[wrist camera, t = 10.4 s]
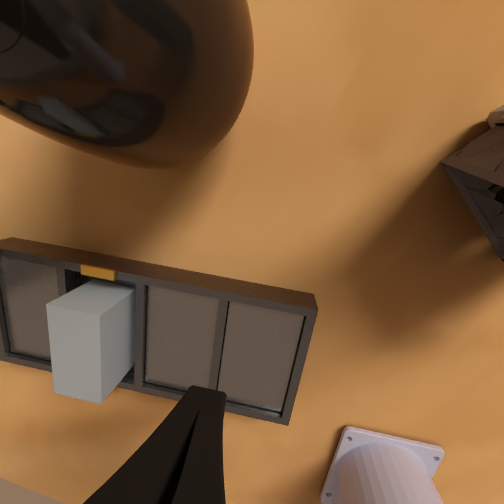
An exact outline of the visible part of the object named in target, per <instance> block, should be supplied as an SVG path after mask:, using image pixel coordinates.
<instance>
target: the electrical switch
mask: <svg viewBox="0 0 504 504" xmlns="http://www.w3.org/2000/svg"><path fill="white" fill-rule="evenodd" d="M486 120H487V122H488V124H489V126H490V128H491V130H489V131H487V132H485V133H484V134H482V135H480V136H479V137H477V138H475V139H473V140H472V141H471V142H470V143H468V144H467V145H466V146H465V147H463V148H462V149H460V150H459V151H457V152H455V153H454V154H452V155H450V156H449V157H447V158H445V159H444V160H442V161H440V162H442V164H443V166H444V168H445V169H446V171H447V172H448V174H449V176H450V177H451V179H452V180H453V182H454V184H455V185H456V187H457V188H458V190H459V192H460V193H461V195H462V197H463V198H464V200H465V201H466V203H467V205H468V206H469V208H470V209H471V211H472V213H473V214H474V216H475V218H476V219H477V221H478V222H479V224H480V226H481V227H482V229H483V230H484V232H485V234H486V235H487V237H488V239H489V240H490V242H491V243H492V245H493V247H494V248H495V250H496V251H497V253H498V255H499V256H500V257H504V213H502V214H500V215H499V213H500V212H504V202H502V203H499V202H498V201H496V198H495V196H496V193H497V192H498V191H500V190H502V189H503V188H504V105H503V106H501V107H499V108H497V109H496V110H494V111H492V112H491V113H489V115H488V117H487V119H486ZM494 184H497V185H496V186H495V187H493V188H490V187H491V186H493V185H494ZM465 185H466V186H467V187H468V188H466V187H465ZM488 188H490V189H488ZM486 189H488V190H486ZM493 221H494V224H493V225H492V222H493ZM496 235H497V236H496ZM501 260H502V261H503V262H504V258H502V259H501Z"/></svg>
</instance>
